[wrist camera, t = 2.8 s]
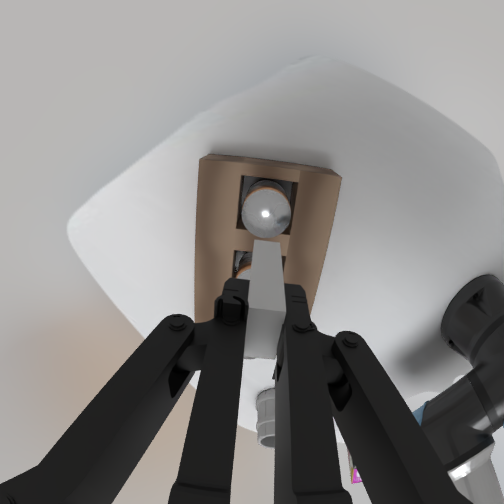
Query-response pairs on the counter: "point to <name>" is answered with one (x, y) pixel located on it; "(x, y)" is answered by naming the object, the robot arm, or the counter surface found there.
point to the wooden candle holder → (239, 238)
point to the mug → (266, 419)
